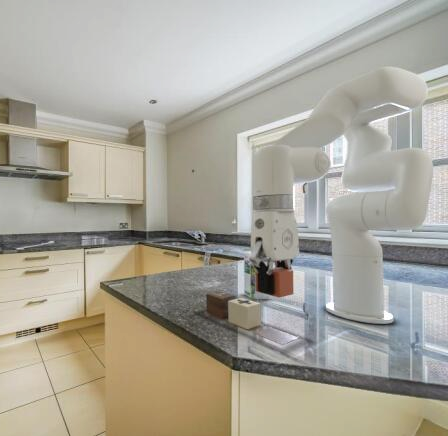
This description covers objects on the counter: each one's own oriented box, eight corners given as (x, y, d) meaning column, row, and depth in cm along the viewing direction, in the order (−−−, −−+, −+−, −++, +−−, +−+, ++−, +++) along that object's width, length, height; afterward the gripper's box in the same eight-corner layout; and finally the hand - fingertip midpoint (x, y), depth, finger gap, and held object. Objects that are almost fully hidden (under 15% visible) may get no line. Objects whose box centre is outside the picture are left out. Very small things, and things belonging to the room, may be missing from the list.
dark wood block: (219, 309, 68) (219, 290, 68) (235, 315, 63) (235, 295, 63) (206, 312, 65) (206, 293, 65) (222, 318, 61) (221, 298, 61)
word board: (220, 307, 70) (220, 306, 70) (308, 340, 51) (308, 337, 51) (196, 313, 66) (196, 311, 66) (283, 351, 46) (283, 349, 46)
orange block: (270, 288, 56) (269, 265, 56) (294, 294, 51) (294, 269, 51) (254, 291, 53) (254, 267, 53) (278, 297, 49) (278, 271, 49)
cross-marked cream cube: (241, 317, 62) (241, 297, 62) (261, 324, 57) (260, 302, 57) (228, 321, 59) (228, 300, 59) (247, 329, 55) (247, 306, 55)
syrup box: (243, 294, 83) (242, 251, 83) (261, 294, 82) (260, 251, 83) (252, 299, 77) (251, 253, 77) (271, 299, 77) (270, 253, 77)
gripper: (266, 202, 45) (267, 302, 45) (314, 205, 53) (315, 290, 53) (230, 205, 52) (231, 292, 51) (278, 207, 60) (279, 282, 59)
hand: (274, 290), depth 52 cm, fingers closed on orange block, 5 cm apart
